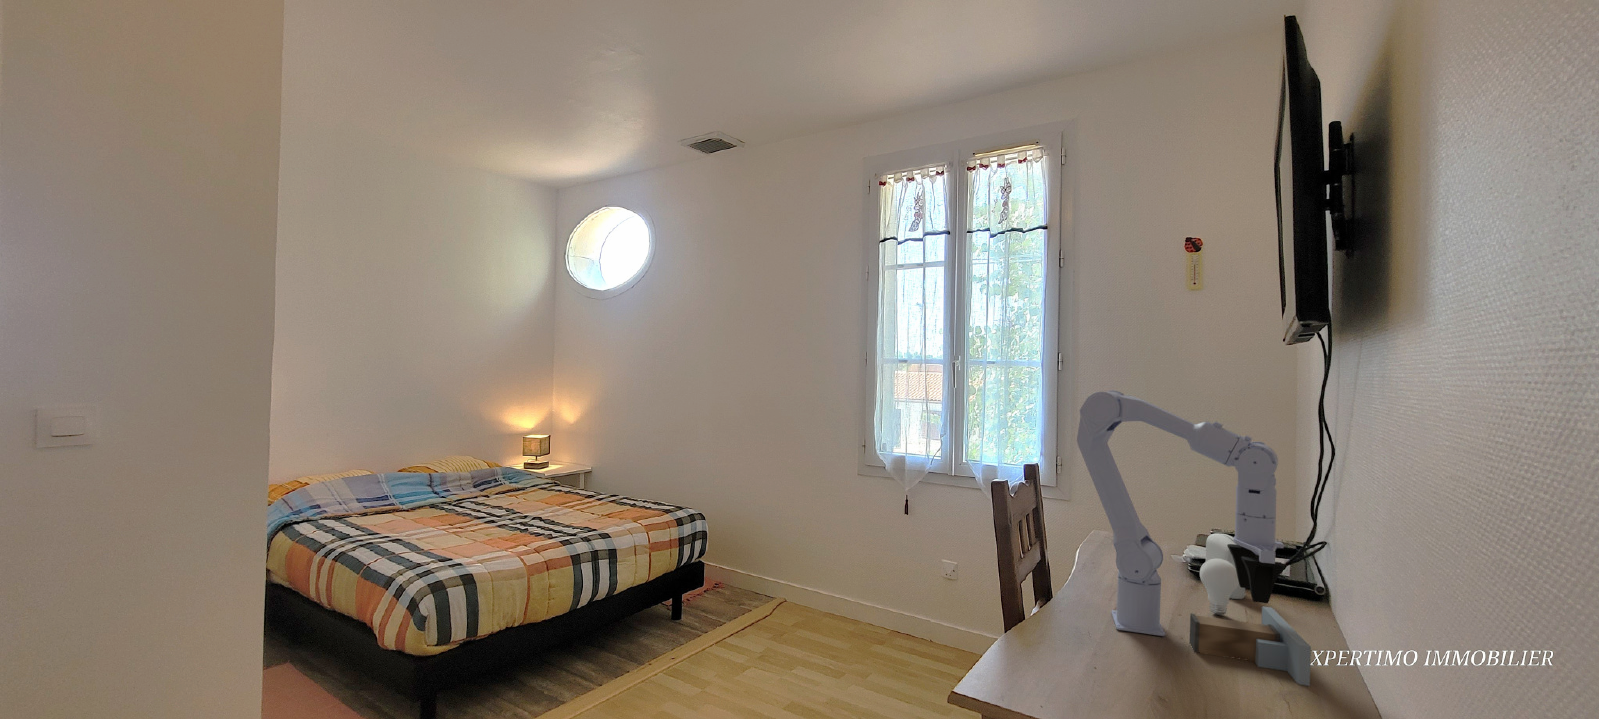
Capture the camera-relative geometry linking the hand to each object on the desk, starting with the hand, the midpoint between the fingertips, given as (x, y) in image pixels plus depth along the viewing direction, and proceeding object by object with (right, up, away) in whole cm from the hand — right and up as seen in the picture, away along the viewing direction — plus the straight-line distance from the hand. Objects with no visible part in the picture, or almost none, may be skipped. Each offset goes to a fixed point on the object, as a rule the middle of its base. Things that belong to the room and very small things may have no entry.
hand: (1253, 594), depth 116 cm
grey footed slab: (+2, -10, -2) cm, 10 cm away
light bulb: (+5, -11, +18) cm, 22 cm away
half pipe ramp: (-3, -10, 0) cm, 11 cm away
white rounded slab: (+15, -11, +33) cm, 38 cm away
